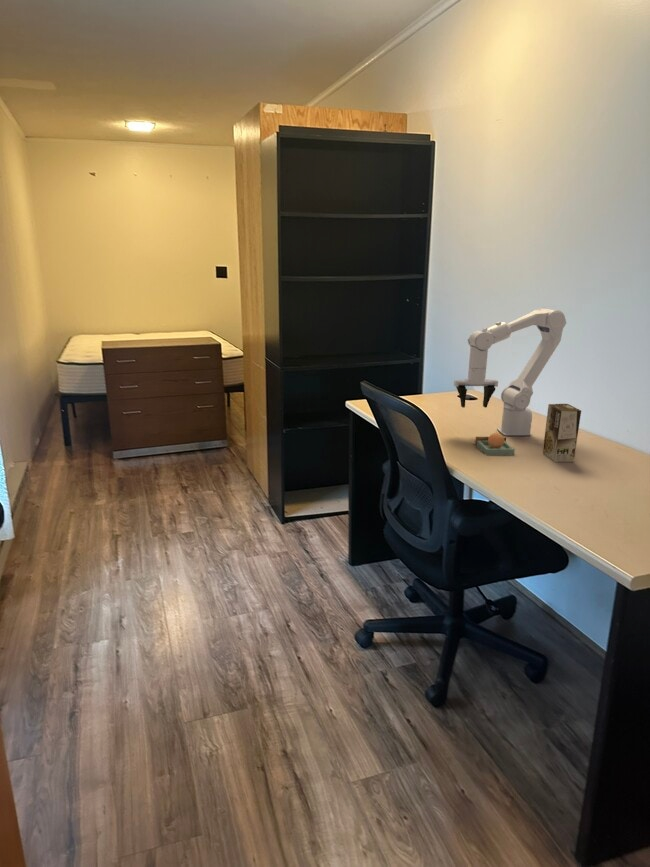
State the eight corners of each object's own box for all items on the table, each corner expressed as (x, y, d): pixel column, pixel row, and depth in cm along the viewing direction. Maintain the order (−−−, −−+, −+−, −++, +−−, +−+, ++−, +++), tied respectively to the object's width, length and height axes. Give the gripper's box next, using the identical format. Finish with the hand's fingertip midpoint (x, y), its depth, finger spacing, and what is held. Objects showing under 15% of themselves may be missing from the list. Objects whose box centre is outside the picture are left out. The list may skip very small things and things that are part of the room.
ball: (494, 445, 192) (497, 430, 191) (506, 449, 188) (508, 434, 187) (483, 446, 190) (485, 431, 188) (494, 451, 186) (497, 436, 184)
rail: (504, 443, 196) (505, 436, 195) (505, 444, 194) (506, 437, 194) (474, 443, 195) (475, 436, 194) (476, 445, 194) (476, 437, 193)
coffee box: (574, 462, 179) (582, 410, 175) (554, 462, 179) (561, 410, 174) (561, 452, 188) (568, 403, 183) (541, 452, 188) (548, 403, 183)
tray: (503, 445, 194) (504, 440, 193) (514, 454, 185) (514, 449, 184) (476, 445, 193) (477, 440, 192) (485, 454, 184) (486, 449, 184)
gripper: (494, 365, 202) (490, 403, 206) (452, 365, 201) (449, 404, 205) (501, 369, 196) (497, 409, 200) (458, 369, 195) (455, 409, 199)
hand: (473, 406), depth 202 cm, fingers open, 7 cm apart
